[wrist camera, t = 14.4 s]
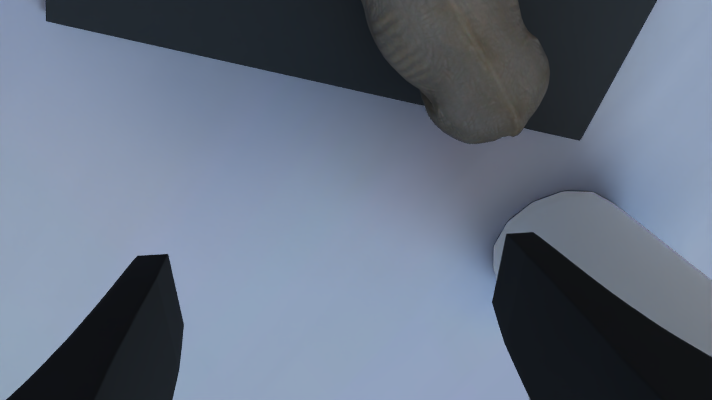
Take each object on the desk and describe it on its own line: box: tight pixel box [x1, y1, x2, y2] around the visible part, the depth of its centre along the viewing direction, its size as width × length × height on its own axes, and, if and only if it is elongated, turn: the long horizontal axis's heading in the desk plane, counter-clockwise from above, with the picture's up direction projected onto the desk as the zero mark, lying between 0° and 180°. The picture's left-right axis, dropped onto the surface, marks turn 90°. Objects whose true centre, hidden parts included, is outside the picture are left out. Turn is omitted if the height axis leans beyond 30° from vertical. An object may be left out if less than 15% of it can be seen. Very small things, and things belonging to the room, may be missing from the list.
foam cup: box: [493, 191, 712, 400], centre depth 21 cm, size 10×9×13 cm
